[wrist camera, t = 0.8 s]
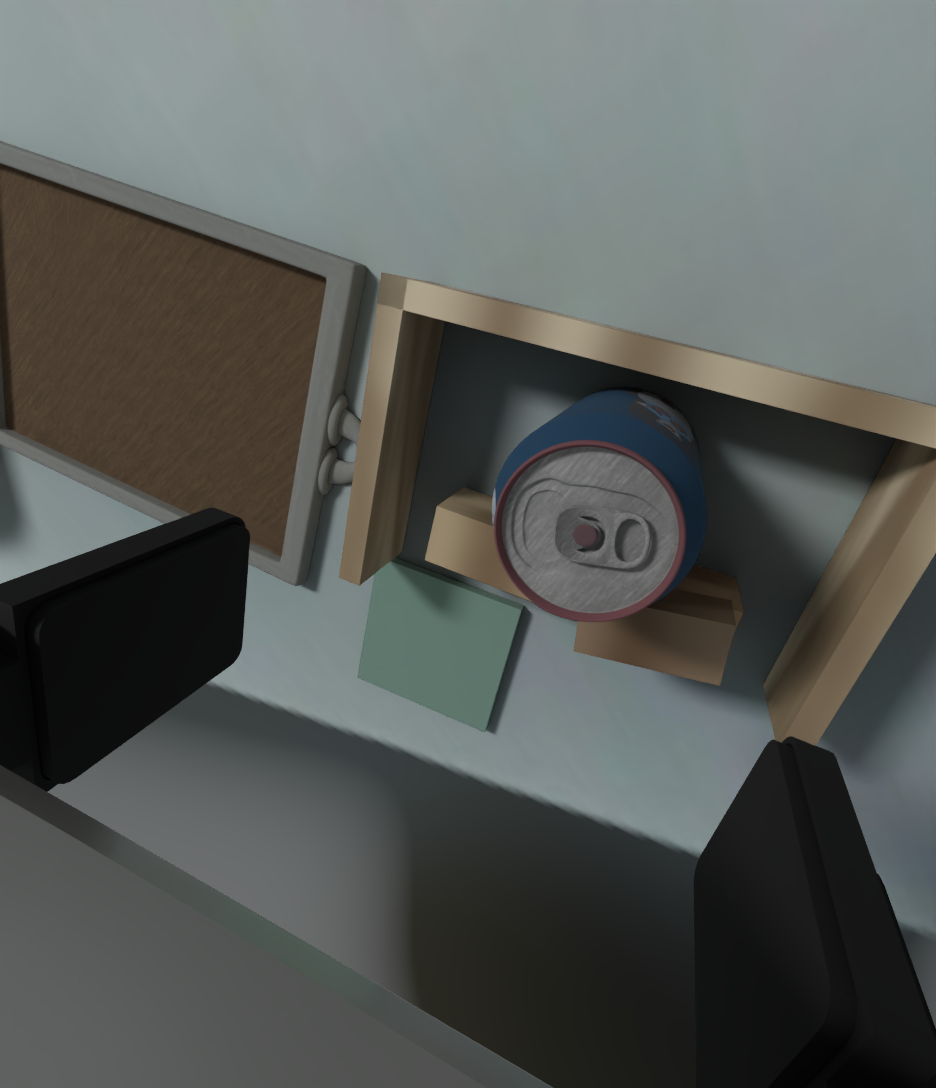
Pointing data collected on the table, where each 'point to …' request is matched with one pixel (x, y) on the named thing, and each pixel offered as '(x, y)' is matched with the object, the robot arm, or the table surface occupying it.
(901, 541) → the enclosure
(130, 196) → the framed cork board
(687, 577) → the offcut
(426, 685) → the mat
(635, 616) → the offcut top
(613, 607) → the soda can
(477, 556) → the offcut
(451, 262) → the table surface
